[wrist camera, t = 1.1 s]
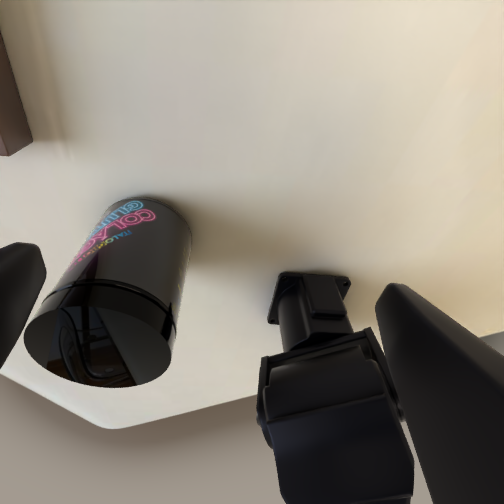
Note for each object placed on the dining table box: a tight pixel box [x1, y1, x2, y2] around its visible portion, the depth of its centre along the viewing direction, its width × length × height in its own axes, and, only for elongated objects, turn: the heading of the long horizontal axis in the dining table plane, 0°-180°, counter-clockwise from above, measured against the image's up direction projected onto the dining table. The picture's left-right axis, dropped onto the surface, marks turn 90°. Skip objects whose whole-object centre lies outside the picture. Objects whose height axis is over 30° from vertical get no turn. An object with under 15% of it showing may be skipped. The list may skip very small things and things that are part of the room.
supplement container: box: [24, 197, 192, 388], centre depth 19 cm, size 7×7×10 cm
